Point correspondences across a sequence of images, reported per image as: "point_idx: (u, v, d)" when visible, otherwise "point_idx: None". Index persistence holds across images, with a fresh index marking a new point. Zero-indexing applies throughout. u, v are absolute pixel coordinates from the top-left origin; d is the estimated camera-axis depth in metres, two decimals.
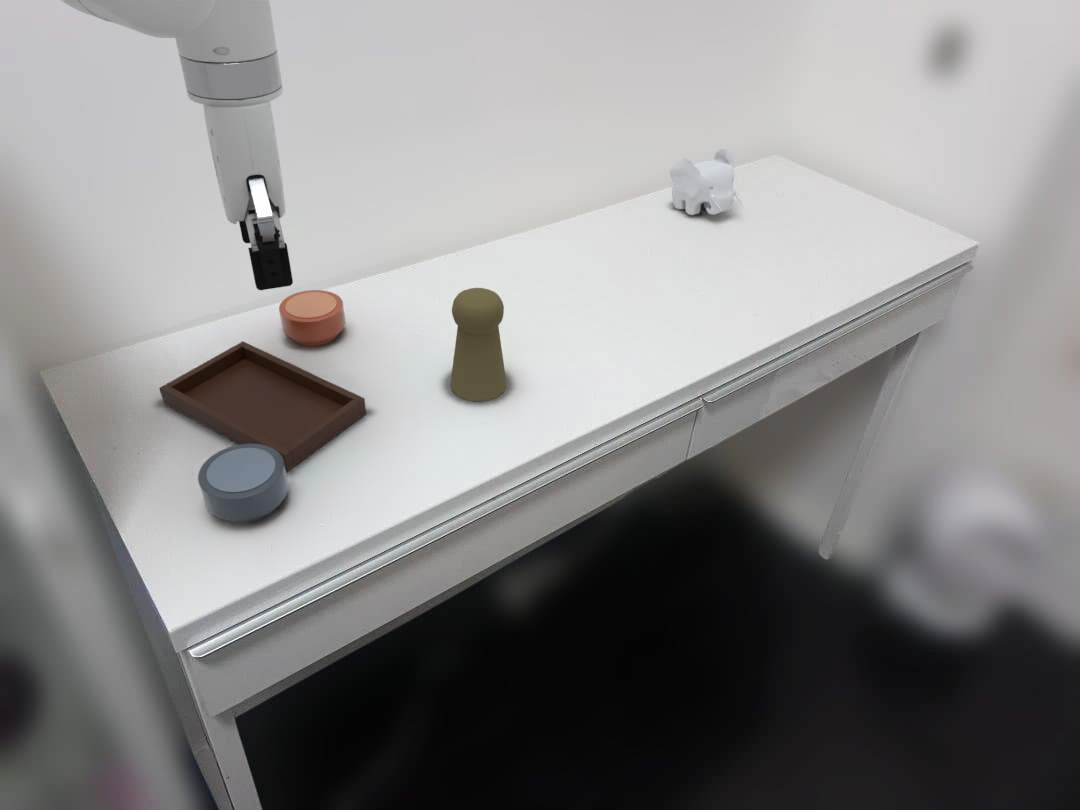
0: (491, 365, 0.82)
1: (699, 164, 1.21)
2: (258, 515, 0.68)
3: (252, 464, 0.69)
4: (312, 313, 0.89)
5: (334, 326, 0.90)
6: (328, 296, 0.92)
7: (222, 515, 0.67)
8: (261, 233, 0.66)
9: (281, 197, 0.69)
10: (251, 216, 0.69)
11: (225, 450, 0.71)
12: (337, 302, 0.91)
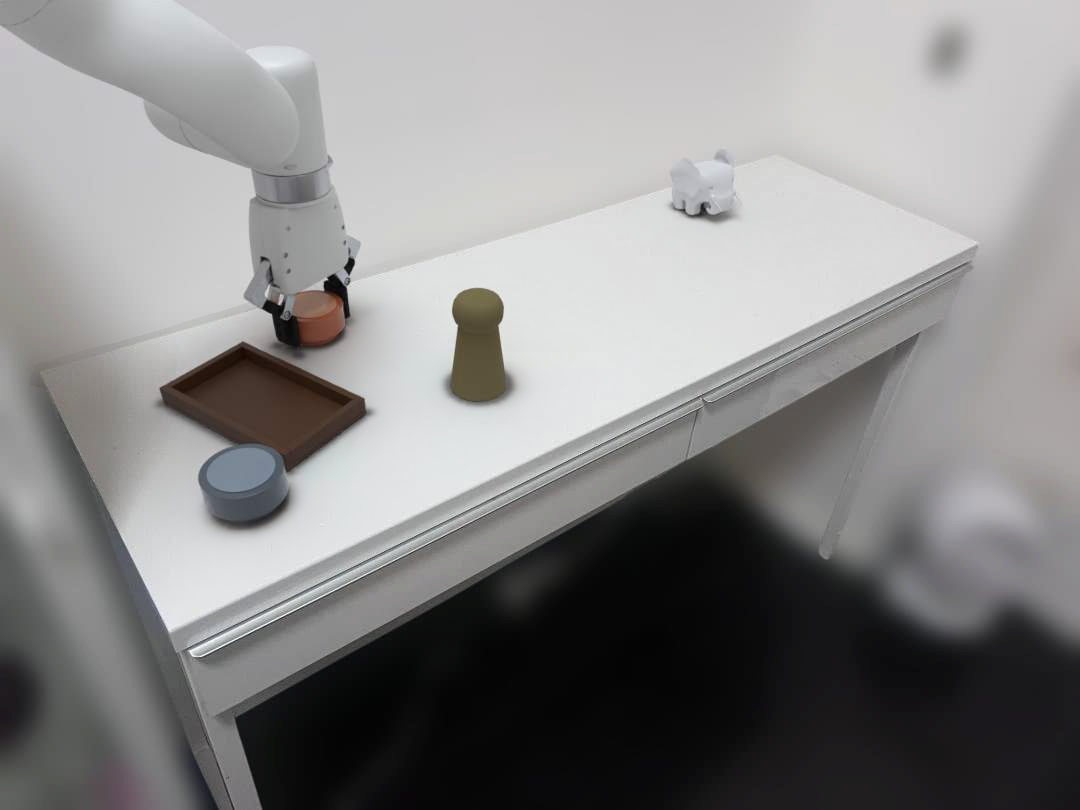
0: (491, 365, 0.82)
1: (699, 164, 1.21)
2: (258, 515, 0.68)
3: (252, 464, 0.69)
4: (312, 313, 0.89)
5: (334, 326, 0.90)
6: (328, 296, 0.92)
7: (222, 515, 0.67)
8: None
9: (282, 281, 0.83)
10: (273, 287, 0.86)
11: (225, 450, 0.71)
12: (337, 302, 0.91)
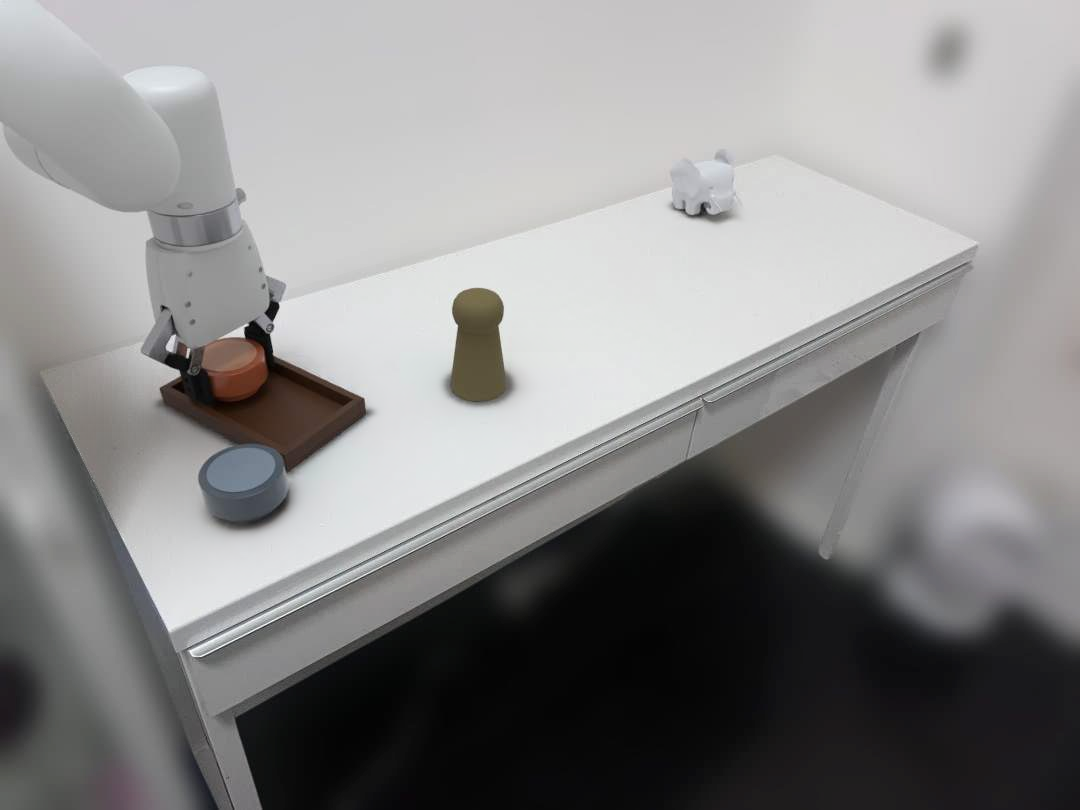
0: (491, 365, 0.82)
1: (699, 164, 1.21)
2: (258, 515, 0.68)
3: (252, 464, 0.69)
4: (227, 365, 0.79)
5: (253, 380, 0.79)
6: (248, 345, 0.82)
7: (222, 515, 0.67)
8: None
9: (186, 333, 0.73)
10: (178, 338, 0.75)
11: (225, 450, 0.71)
12: (257, 352, 0.81)
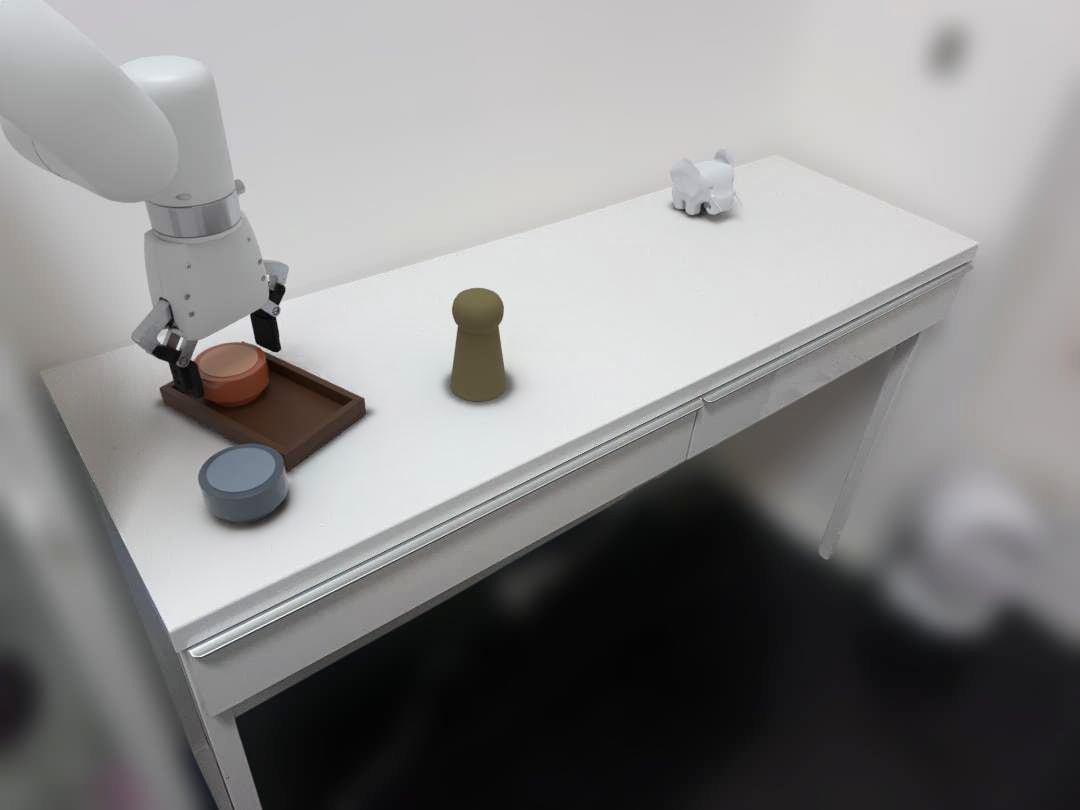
0: (491, 365, 0.82)
1: (699, 164, 1.21)
2: (258, 515, 0.68)
3: (252, 464, 0.69)
4: (229, 371, 0.79)
5: (254, 385, 0.80)
6: (249, 350, 0.82)
7: (222, 515, 0.67)
8: (141, 347, 0.72)
9: (185, 326, 0.72)
10: (172, 329, 0.74)
11: (225, 450, 0.71)
12: (259, 357, 0.81)
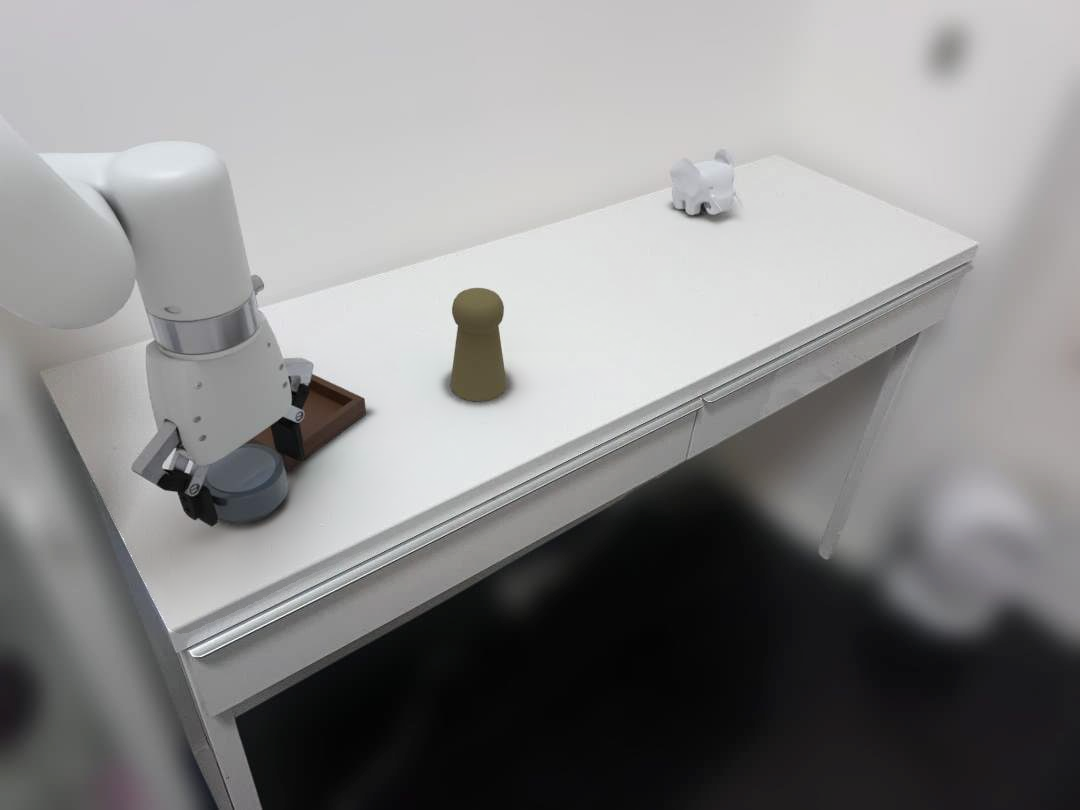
0: (491, 365, 0.82)
1: (699, 164, 1.21)
2: (258, 515, 0.68)
3: (252, 464, 0.69)
4: None
5: None
6: None
7: (222, 515, 0.67)
8: None
9: (196, 451, 0.61)
10: (180, 450, 0.63)
11: None
12: None
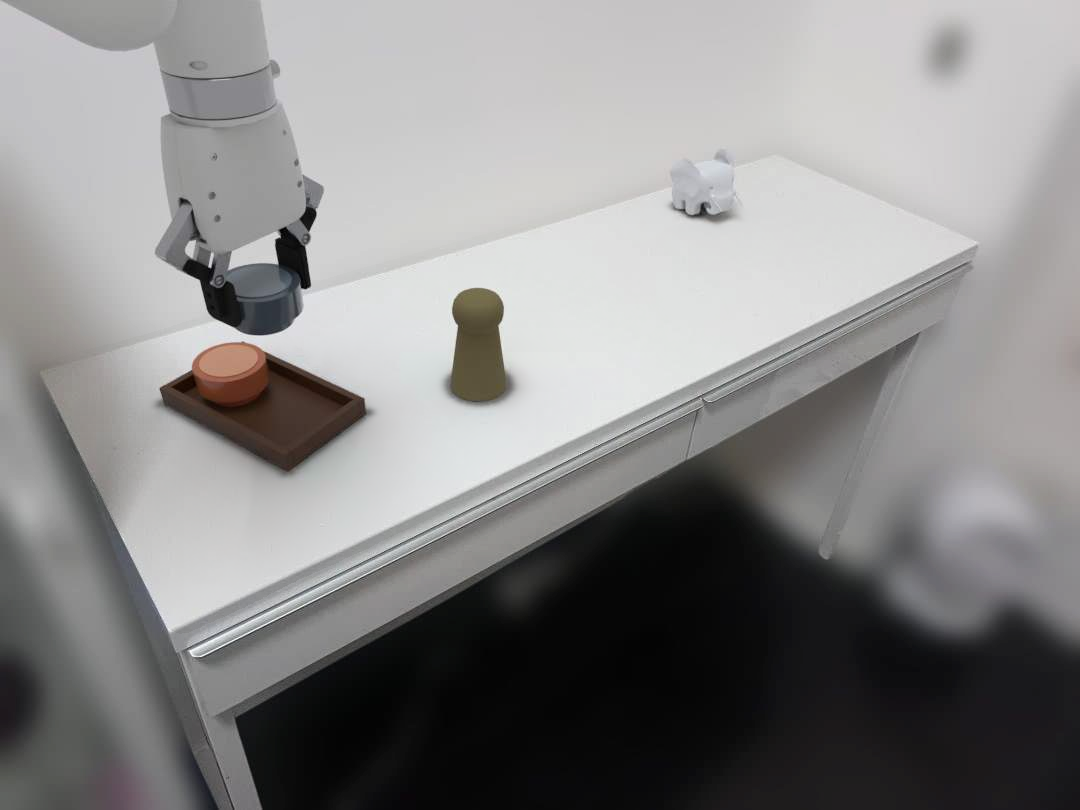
0: (491, 365, 0.82)
1: (699, 164, 1.21)
2: (274, 325, 0.68)
3: (268, 277, 0.69)
4: (229, 371, 0.79)
5: (254, 385, 0.80)
6: (249, 350, 0.82)
7: None
8: (169, 264, 0.61)
9: (210, 233, 0.60)
10: (200, 243, 0.63)
11: (241, 267, 0.70)
12: (259, 357, 0.81)
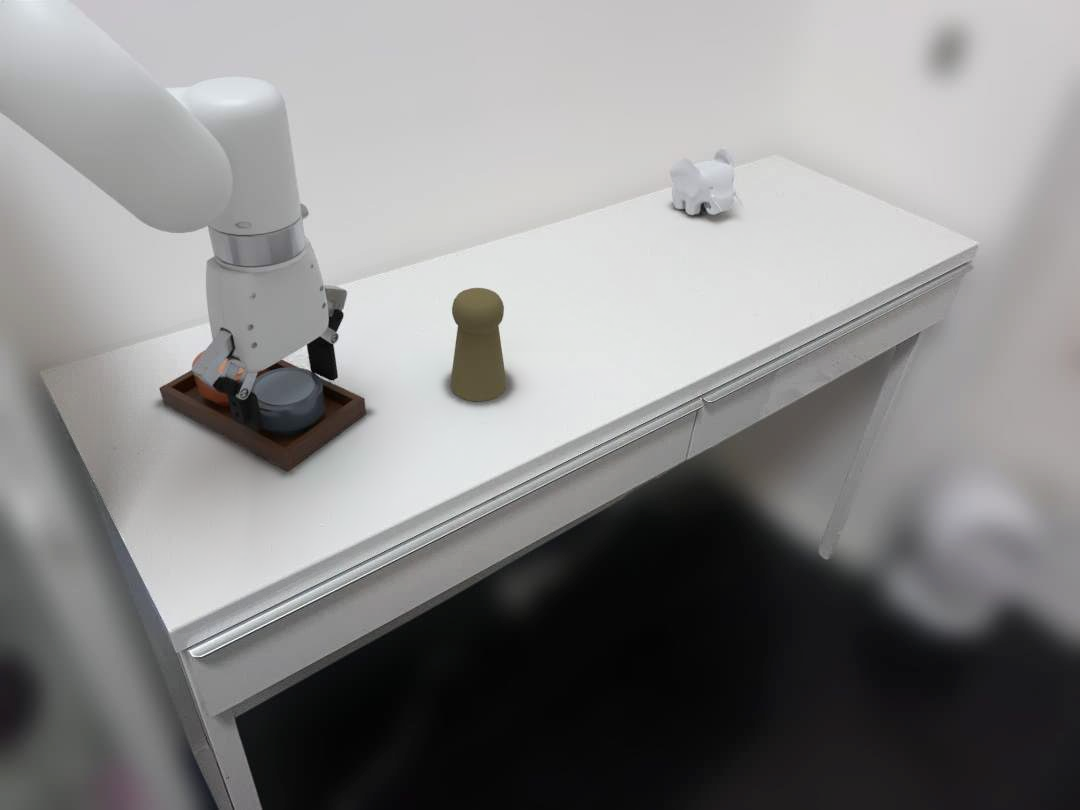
0: (491, 365, 0.82)
1: (699, 164, 1.21)
2: (300, 427, 0.77)
3: (294, 383, 0.78)
4: None
5: None
6: None
7: (269, 427, 0.76)
8: (201, 379, 0.69)
9: (247, 357, 0.69)
10: (232, 359, 0.71)
11: (269, 372, 0.79)
12: None
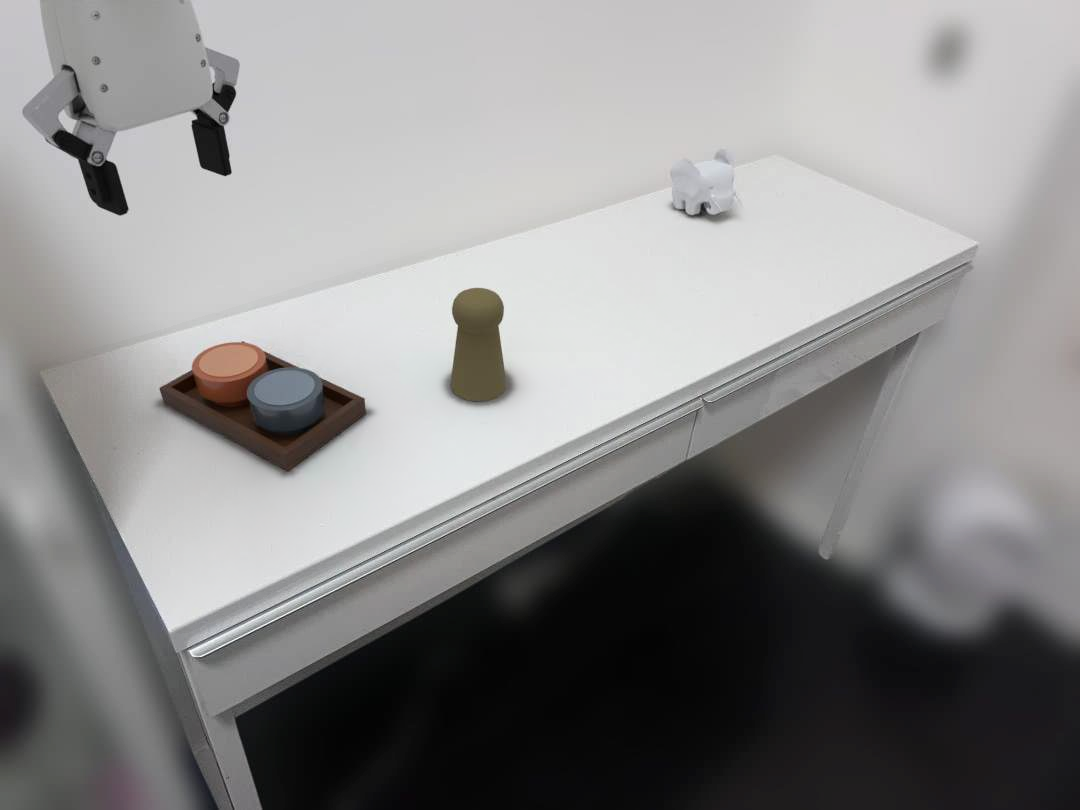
0: (491, 365, 0.82)
1: (699, 164, 1.21)
2: (300, 427, 0.77)
3: (294, 383, 0.78)
4: (229, 371, 0.79)
5: None
6: (249, 350, 0.82)
7: (269, 427, 0.76)
8: (38, 131, 0.55)
9: (96, 104, 0.55)
10: (83, 116, 0.58)
11: (269, 372, 0.79)
12: (259, 357, 0.81)
